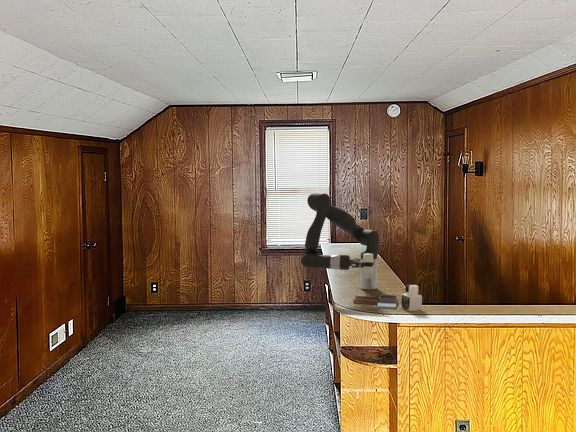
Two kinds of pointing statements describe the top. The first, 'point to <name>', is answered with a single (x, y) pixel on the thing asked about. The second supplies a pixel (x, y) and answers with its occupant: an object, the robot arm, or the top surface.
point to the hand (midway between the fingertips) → (373, 263)
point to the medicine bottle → (411, 298)
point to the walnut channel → (366, 299)
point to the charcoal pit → (388, 299)
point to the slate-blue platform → (387, 305)
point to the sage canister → (367, 270)
